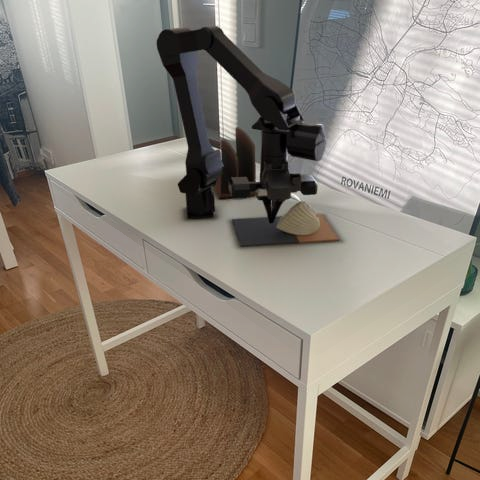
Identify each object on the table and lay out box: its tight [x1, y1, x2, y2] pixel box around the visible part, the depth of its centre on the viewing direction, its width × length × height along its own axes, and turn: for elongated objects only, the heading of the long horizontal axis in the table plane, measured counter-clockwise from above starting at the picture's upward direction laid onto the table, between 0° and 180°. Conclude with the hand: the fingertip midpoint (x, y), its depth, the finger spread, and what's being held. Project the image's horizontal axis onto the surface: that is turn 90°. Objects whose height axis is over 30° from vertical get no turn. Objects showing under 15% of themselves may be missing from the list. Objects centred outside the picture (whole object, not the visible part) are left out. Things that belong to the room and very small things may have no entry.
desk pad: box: [232, 213, 340, 248], centre depth 112 cm, size 22×14×1 cm, turn 98°
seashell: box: [276, 200, 320, 235], centre depth 110 cm, size 8×8×8 cm
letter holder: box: [212, 126, 257, 199], centre depth 132 cm, size 10×20×14 cm, turn 14°
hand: (270, 222), depth 111 cm, fingers closed
